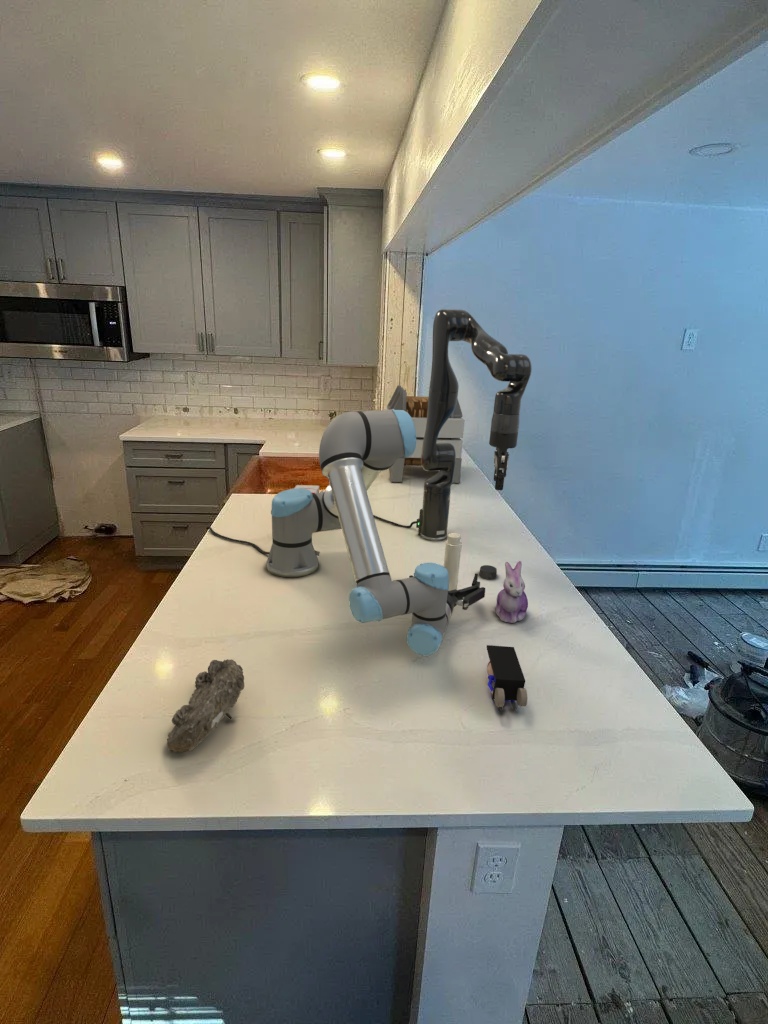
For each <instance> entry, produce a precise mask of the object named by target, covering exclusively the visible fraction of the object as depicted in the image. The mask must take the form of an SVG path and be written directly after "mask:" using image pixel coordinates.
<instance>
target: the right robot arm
mask: <svg viewBox="0 0 768 1024" xmlns="http://www.w3.org/2000/svg"><path fill="white" fill-rule="evenodd" d="M450 342H466V343H468V344H470V347H471V352H472V354H473V356H474V357H475V358H476V359H477V360H478V361H480V362H481V363H482V364H483V365H484V366H486V368H487V371H489V373H490V376H491V377H492V378H493V379H495V380H496V381H499V382H502V383H505V382H506V383H507V382H509V383H508V385H507V386H506V387H505V388H504V389H501V390H498V391H497V392H496V393H495V396H494V403H493V413H492V417H491V421H490V431H489V440H488V444H489V446H491V447H493V448H495V450H493V451H494V452H493V464H494V465H493V467H494V472H493V481H494V482H495V483H494V490H496V491H503V490H504V483H505V478H506V477H507V470H508V467H509V460H510V453H509V451H508V449H515V448H516V447H517V446H518V437H519V429H520V412H521V405H522V398H523V396H524V393H525V391H526V388H527V386H528V383H529V381H530V378H531V374H532V369H533V366H532V361H531V359H530V357H529V356H527V354H520V353H515V354H514V353H509V351H508V349H507V347H506V346H505V345H503V343H501V342H500V341H499V340H497V339H496V338H494V337H493V336H491V335H490V334H489V333H488V332H486V331H485V329H484V328H483V327H482V326H481V325H480V324H479V322H477V320H476V319H475V317H474V316H473V315H472V314H471V313H470V312H468V311H466V310H464V309H455V308H451V309H449V308H443V309H441V308H440V309H439V310H437V312H436V313H435V315H434V318H433V324H432V356H431V357H432V358H431V359H432V360H431V369H430V370H431V371H430V381H429V387H428V388H429V389H428V396H427V397H428V411H427V422H426V429H425V434H424V440H423V445H422V452H421V464H422V466H421V467H422V469H423V470H424V471H426V472H437V473H435V475H433V476H431V477H428V478H427V479H425V480H424V482H423V493H422V496H423V497H422V506H421V508H420V509H419V516H418V518H416V520H415V521H412V522H411V523H410V524H409V525H403V524H399V523H397V522H394V521H391V520H388V519H385V518H382V517H380V516H377V515H375V514H373V516H374V519H377V520H379V521H382V522H384V523H387V524H390V525H394V526H397V527H400V528H405V529H410V528H412V527H413V525H415V524H416V526H415V527H416V529H418V530H417V535H418V536H420V538H421V539H424V540H426V541H432V542H440V541H444V540H446V539H447V538H448V525H449V517H450V516H449V514H450V504H451V494H452V493H451V491H452V485H453V483H452V482H453V474H454V467H455V460H456V453H455V448H454V446H453V445H452V444H450V443H436V442H437V438H438V435H439V432H440V430H441V428H442V427H443V425H444V424H445V422H446V421H447V420H448V418H449V417H450V416H451V414H452V413H453V411H454V409H455V407H456V404H457V398H458V396H459V390H460V389H459V388H460V387H459V386H460V385H459V381H458V377H457V375H456V374H455V371H454V369H453V367H452V365H451V362H450V359H449V343H450ZM458 399H459V398H458Z"/></svg>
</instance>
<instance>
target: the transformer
mask: <svg viewBox="0 0 768 1024" xmlns="http://www.w3.org/2000/svg"><path fill="white" fill-rule="evenodd" d="M407 394H408V393H407V390H406V389H404V388H403V387H402V385H399V384H398V385H397V386H396V388H395V390H394V392H393V394H392V395H391V398H390V400H389V402H388V404H387V405H386V410H391V409H394V410H404V411H406V412H407V413H408V414H409V415H410V416H411V418H412V420H413V422H414V426H415V430H416V448H415V451H414V453H413V454H412V455H411V456H410V457H406V458H403V457H402V458H398V459H397V460H396V461H395V463H394V464H393V465H392V466H391V467H390V468H389V475H388V476H389V477H388V478H389V480H390V482H391V483H402V482H403V475H404V469H405V466H406V467H407V466H411V467H412V466H413V467H415V466H416V467H417V466H418V467H422V464H421V452H422V445H423V440H424V434H425V429H426V422H427V411H428V397H429V396H415V395H414V396H413V395H412V396H411V395H407ZM464 429H465V419H464V418H463V411H462V408H461V405H460V402H459V398H457V404H456V407H455V409H454V411H453V413H452V414H451V416H450V417H449V418H448V420H447V421H446V422H445V424H444V425H443V427H442V428H441V430H440V432H439V435H438V438H437V442H436V443H450V444H452V445H453V446H454V448H455V453H456V460H455V467H454V474H453V482H452V484H455V483H456V484H459V483H461V472H462V461H463V460H462V453H463V442H464V441H463V440H462V439H463V438H464V431H465V430H464Z"/></svg>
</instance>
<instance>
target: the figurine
mask: <svg viewBox="0 0 768 1024" xmlns="http://www.w3.org/2000/svg"><path fill="white" fill-rule="evenodd" d="M522 566H523V563H522V561H521V560H518V561H517V562H516V564H515V565H514V568H513V567H512V566H511V564H510V562H508V561H506V562H505V563H504V569H505V570H504V571H505V579H504V580H503V582H502V583H503V585H502V586H503V587H502V589H501V590H500V591H499V592H498V594H497V596H496V606H495V613H496V614H495V615H497V616H498V617H499V620H501V621H502V622H505V623H511V624H512V623H514V624H515V623H517V622H520V621H523V619H524V618H525V617H526V614H527V610H528V607H529V600H528V597H527V594H526V592H525V588H526V584H525V580H524V578H523V576H522Z"/></svg>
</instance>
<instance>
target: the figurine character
mask: <svg viewBox="0 0 768 1024" xmlns="http://www.w3.org/2000/svg"><path fill="white" fill-rule="evenodd" d="M485 648H486V651H487V655H488V659H489V661H488V663H487V665H486V672H487V674H488V677H487V678H488V681H487V686H488V689H489V690H490V693H491V699H492V700H494V704H495V705H494V706H495V707H497V708H498V709H499V710H500V711H501V712H502V711H503V707H504V706H505V703H506V702H510V704H511V708H512V711H514V712H516V711H517V710H518V709H517V708H518V707H523V708H524V707H527V705H528V692H527V688H525V684H526V678H525V675H524V673H523V669H522V667H521V664H520V660H519V658H518V654H517V652H516V649H515V646H508V645H507V646H506V645H493V644H491V645H490V644H486V647H485ZM492 684H493V685H492ZM516 703H517V704H516ZM517 706H518V707H517Z"/></svg>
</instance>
